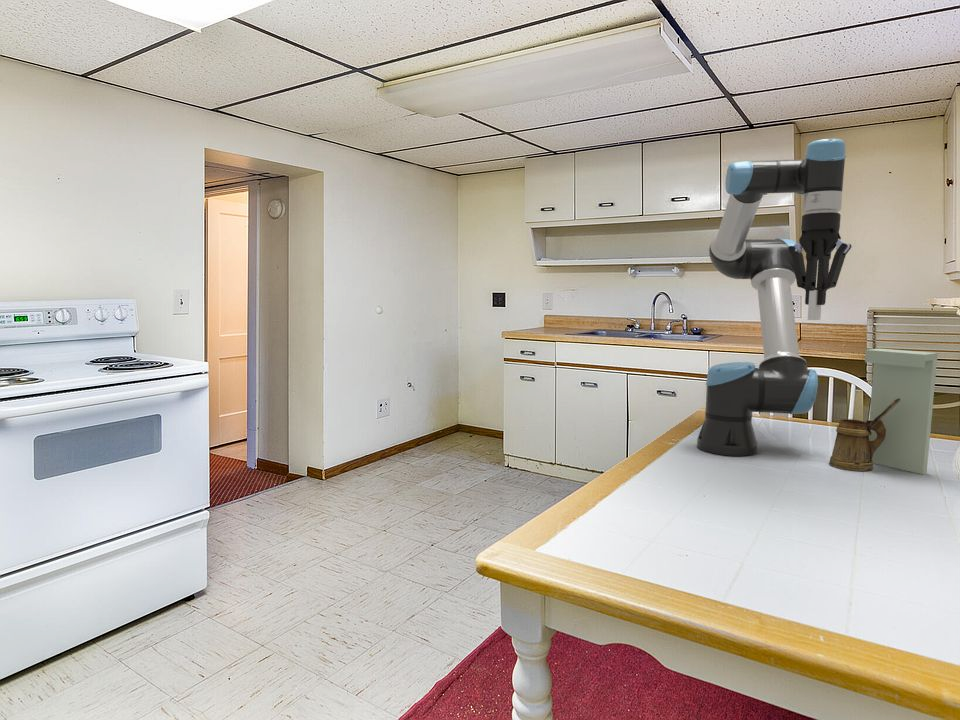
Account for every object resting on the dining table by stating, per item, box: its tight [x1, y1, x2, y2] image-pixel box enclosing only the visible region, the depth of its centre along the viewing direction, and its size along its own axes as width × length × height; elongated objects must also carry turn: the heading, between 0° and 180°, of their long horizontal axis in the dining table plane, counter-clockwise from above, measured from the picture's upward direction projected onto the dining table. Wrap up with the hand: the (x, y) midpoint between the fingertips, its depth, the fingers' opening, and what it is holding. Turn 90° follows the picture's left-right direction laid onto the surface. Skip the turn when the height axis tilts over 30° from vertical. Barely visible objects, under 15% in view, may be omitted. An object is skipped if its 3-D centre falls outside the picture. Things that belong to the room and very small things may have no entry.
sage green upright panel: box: [864, 348, 939, 475], centre depth 147 cm, size 12×6×28 cm, turn 33°
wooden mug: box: [828, 398, 900, 472], centre depth 148 cm, size 9×14×18 cm, turn 51°
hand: (813, 319), depth 139 cm, fingers closed
